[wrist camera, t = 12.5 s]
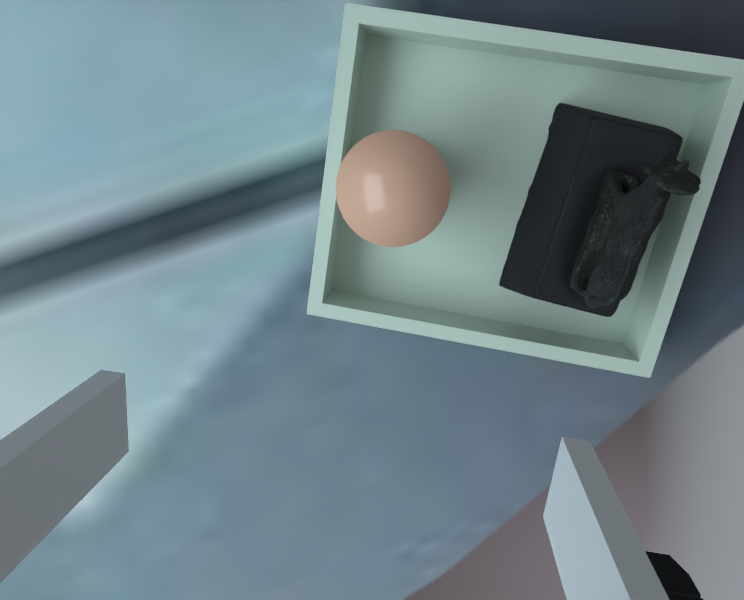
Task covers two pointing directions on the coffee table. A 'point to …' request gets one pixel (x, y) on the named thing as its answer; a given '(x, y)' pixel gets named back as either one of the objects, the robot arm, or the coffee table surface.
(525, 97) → the tote
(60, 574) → the coffee table surface
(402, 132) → the jar
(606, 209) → the sculpture
